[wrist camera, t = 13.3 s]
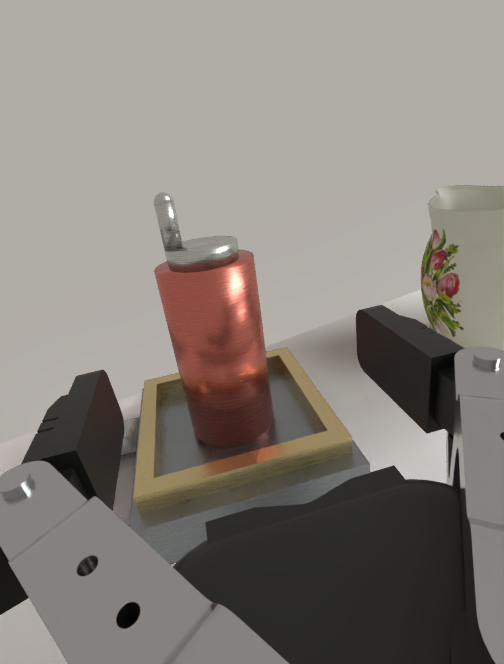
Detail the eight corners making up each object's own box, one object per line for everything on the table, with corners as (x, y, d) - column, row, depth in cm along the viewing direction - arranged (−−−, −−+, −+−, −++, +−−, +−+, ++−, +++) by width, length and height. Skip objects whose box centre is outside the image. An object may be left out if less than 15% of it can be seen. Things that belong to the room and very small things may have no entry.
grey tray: (293, 381, 34) (288, 341, 32) (370, 502, 21) (369, 446, 20) (116, 425, 32) (101, 384, 30) (86, 589, 19) (56, 535, 17)
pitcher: (495, 413, 26) (527, 216, 21) (389, 319, 43) (390, 195, 37) (643, 387, 27) (714, 185, 21) (481, 304, 43) (496, 178, 37)
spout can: (263, 387, 28) (234, 179, 22) (283, 434, 23) (254, 181, 17) (190, 404, 28) (139, 193, 21) (195, 456, 23) (131, 200, 16)
